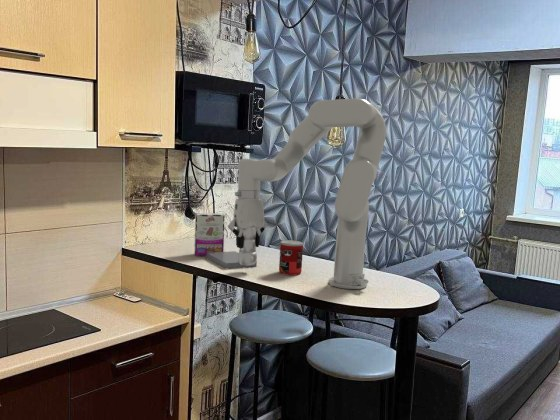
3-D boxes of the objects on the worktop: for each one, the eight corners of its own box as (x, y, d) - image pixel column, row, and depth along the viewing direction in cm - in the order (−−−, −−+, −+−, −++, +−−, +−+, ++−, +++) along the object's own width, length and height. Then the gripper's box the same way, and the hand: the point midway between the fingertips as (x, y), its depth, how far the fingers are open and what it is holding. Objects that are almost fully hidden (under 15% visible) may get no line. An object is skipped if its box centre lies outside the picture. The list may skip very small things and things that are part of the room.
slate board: (256, 266, 199) (256, 261, 199) (226, 268, 193) (226, 263, 192) (234, 256, 214) (234, 251, 214) (206, 258, 208) (206, 252, 208)
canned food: (275, 270, 194) (277, 240, 193) (296, 269, 197) (298, 240, 196) (283, 275, 187) (284, 244, 186) (304, 275, 190) (306, 244, 189)
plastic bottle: (234, 264, 189) (234, 207, 187) (249, 262, 194) (250, 206, 191) (245, 268, 184) (246, 209, 182) (260, 265, 189) (261, 208, 186)
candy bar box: (221, 253, 217) (223, 213, 215) (223, 256, 213) (225, 214, 211) (193, 253, 215) (195, 212, 213) (194, 256, 210) (196, 214, 208)
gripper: (231, 196, 179) (230, 250, 181) (276, 195, 187) (274, 247, 190) (221, 194, 185) (220, 247, 187) (265, 193, 194) (264, 243, 196)
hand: (247, 246), depth 188 cm, fingers closed on plastic bottle, 5 cm apart
